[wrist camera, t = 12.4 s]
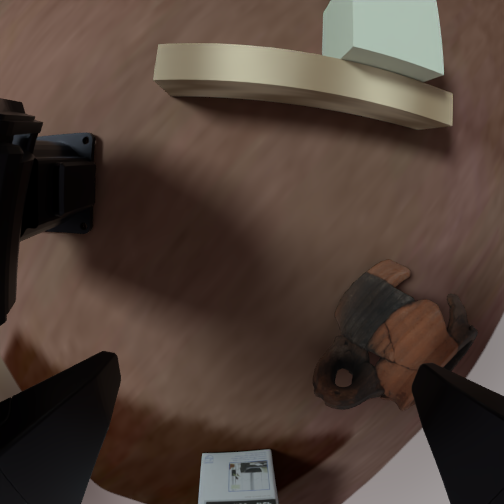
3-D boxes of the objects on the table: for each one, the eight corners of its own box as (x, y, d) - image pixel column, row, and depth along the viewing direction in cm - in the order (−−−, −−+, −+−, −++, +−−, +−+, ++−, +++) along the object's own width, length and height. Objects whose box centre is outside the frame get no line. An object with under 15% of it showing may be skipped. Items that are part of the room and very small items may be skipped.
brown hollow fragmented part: (415, 226, 20) (503, 295, 14) (403, 304, 26) (463, 363, 20) (271, 320, 18) (354, 433, 12) (295, 379, 24) (350, 456, 18)
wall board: (170, 96, 17) (153, 79, 13) (174, 66, 16) (158, 44, 12) (417, 130, 18) (452, 126, 14) (418, 102, 17) (452, 93, 13)
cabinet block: (320, 78, 17) (353, 46, 11) (323, 11, 15) (350, -34, 10) (392, 94, 17) (444, 74, 11) (391, 29, 16) (435, -4, 10)
